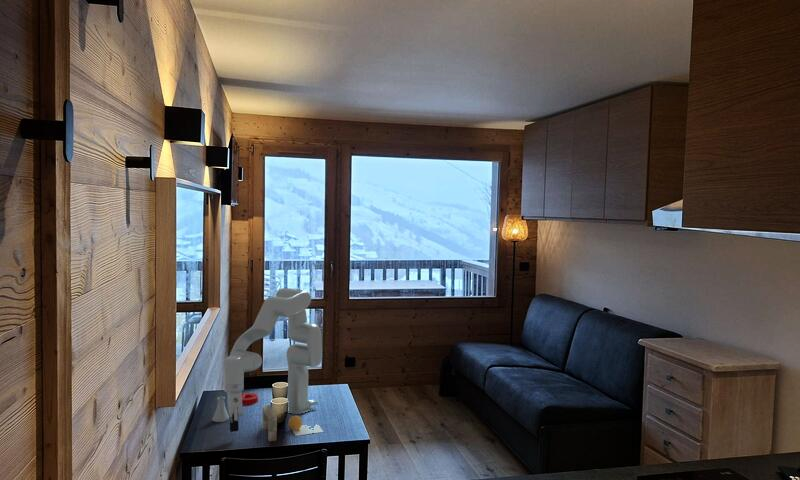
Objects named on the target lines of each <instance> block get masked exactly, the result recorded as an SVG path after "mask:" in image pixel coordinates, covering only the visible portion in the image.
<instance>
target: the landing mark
mask: <svg viewBox="0 0 800 480" xmlns="http://www.w3.org/2000/svg"><path fill="white" fill-rule="evenodd" d="M317 424H318V423H317ZM317 424H316V425H315V426H314V428H311V429H309V427H311V426H307V425H302V426H301V428H299V429H298V430H292V429H291V430H292V432H293V433H294V435H295V436H296V437H299V436H306V435H312V433H314V434H319V433H320V434H321V433H324V430H323V428H321V426H320V425H319V424H318V425H317ZM305 426H306V427H305ZM312 429H314V430H312Z"/></svg>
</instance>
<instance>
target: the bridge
mask: <svg viewBox="0 0 800 480" xmlns="http://www.w3.org/2000/svg"><path fill="white" fill-rule="evenodd" d="M261 426H262V430H264V431H266V430H267V434H268V436H267V440H268V442H275V441H277V437H278V436H277V432H278V429H277V427H278V416H277V415H276V413H275V412H274V410H273V408H272V406H271V405H270V404H269V405H262V425H261Z"/></svg>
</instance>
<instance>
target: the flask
mask: <svg viewBox="0 0 800 480" xmlns="http://www.w3.org/2000/svg"><path fill="white" fill-rule="evenodd" d="M216 399H217V405H216V408H215V411H214V414H213V417H212V419H211V421H212V422H215V423H225V422H226V421H228V420H230V415H229V412H228V409H227V408H226V403H225V399H226V397H225V396H218V397H217V398H216Z"/></svg>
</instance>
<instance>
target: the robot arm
mask: <svg viewBox="0 0 800 480" xmlns="http://www.w3.org/2000/svg"><path fill="white" fill-rule="evenodd" d="M275 295H276V296H270V297H267V298H266V299H265V300H264V302H263V303H262V306H261V308H260V310H259V312H258V314H257V316H256V318H255V320H254V323H253V325H252V326H251V327H250V328H248V329H247V330H246V331H245V332H244V333H242V334H241V335H240V336H239V337H237V339H236V340H235V342H234V344H233V347H232V348H231V351H230V353H229V356H226V357H225V359H224V361H223V363H224V365H223V366H224V367H223V368H224V370H223V371H224V372H223V373H224V375H223V376H224V377H223V381H224V383H223V384H224V387H223V388H224V392H225V393H227V395H226V396H227V402H226V403H227V413H228V415H229V432H231V433H232V432H237V431H238V432H239V425H240V424H239V416H241V417H242V416H243V412H244V411H243V405H242V394H243V393H242V392H243V391H244V387H245V385H244V384H245V383H244V382H245V381H244V379H245V378H244V376H245V375H244V373H248V372H254V371H257V370H258V369H259V368H261V366H262V363H263V359H262V356H261V355H260V354H259V353H256V352H252V351H249V350H248V351H247V349H248V348H249V346H250V345H251V344H253V343H254V342H255V341H258V340H259V339H262V338H266V337H268V336H270V335H271V334H272V332H273V330H274V328H275V327H276V323H277V321H278V319H279V317H280V318H288V336H289V339H290V340H291V341H293V342H294V343H293V344H291V345H290V346H288V348H287V350H286V356H285V357H286V361H287V371H288V373H287V374H288V377H287V402H288V401H289V411H288V412H289V413H292V414H291V415H301V414H300V413H303V414H306V413H305V412H307V413H308V411H309V410H310V409H312V406H316V405H318V400H314V399H309V370H308V367H309V368H316V367H318V366H320V364H321V363H322V360H323V335H322V334H323V333H322V329H321V328H320V326H319V325H318V324H315V323H310V322H308V318H307V308H308V307H309V306H310V304H311V302H312V296H311V294H310V293H309V291H307V290H303V289H296V288H286V287H285V288H283V287H282V288H281V289H278V290H277V292H276V294H275ZM310 411H311V410H310ZM310 411H309V412H310ZM289 413H288V414H289Z"/></svg>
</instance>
